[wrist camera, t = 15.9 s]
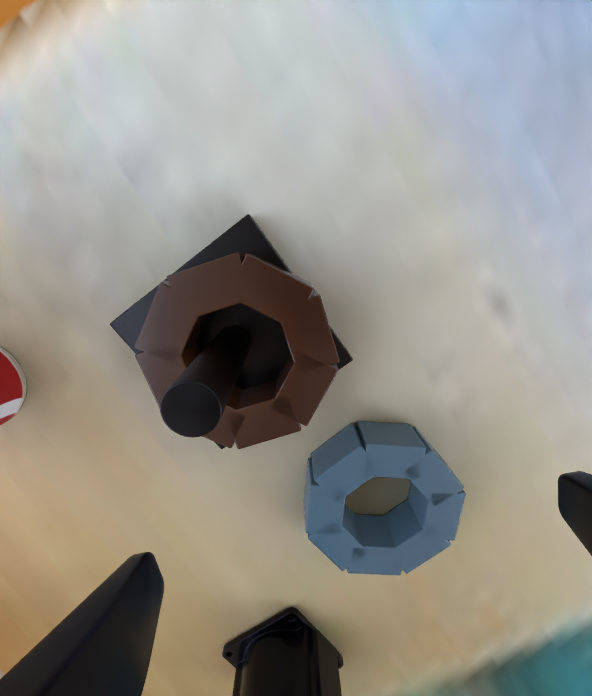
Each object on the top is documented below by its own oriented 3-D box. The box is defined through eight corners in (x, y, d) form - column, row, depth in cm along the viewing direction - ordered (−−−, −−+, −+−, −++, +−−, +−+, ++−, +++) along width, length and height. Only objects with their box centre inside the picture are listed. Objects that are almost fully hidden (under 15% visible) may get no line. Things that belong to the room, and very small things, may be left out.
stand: (225, 439, 20) (176, 580, 12) (120, 319, 18) (-39, 379, 10) (349, 354, 19) (402, 438, 10) (251, 216, 17) (210, 173, 8)
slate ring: (277, 478, 21) (275, 508, 19) (387, 394, 20) (402, 414, 17) (361, 561, 23) (370, 598, 20) (467, 488, 22) (491, 519, 19)
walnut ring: (199, 438, 19) (185, 465, 17) (133, 290, 17) (106, 296, 14) (347, 393, 18) (356, 414, 16) (298, 234, 16) (300, 230, 14)
